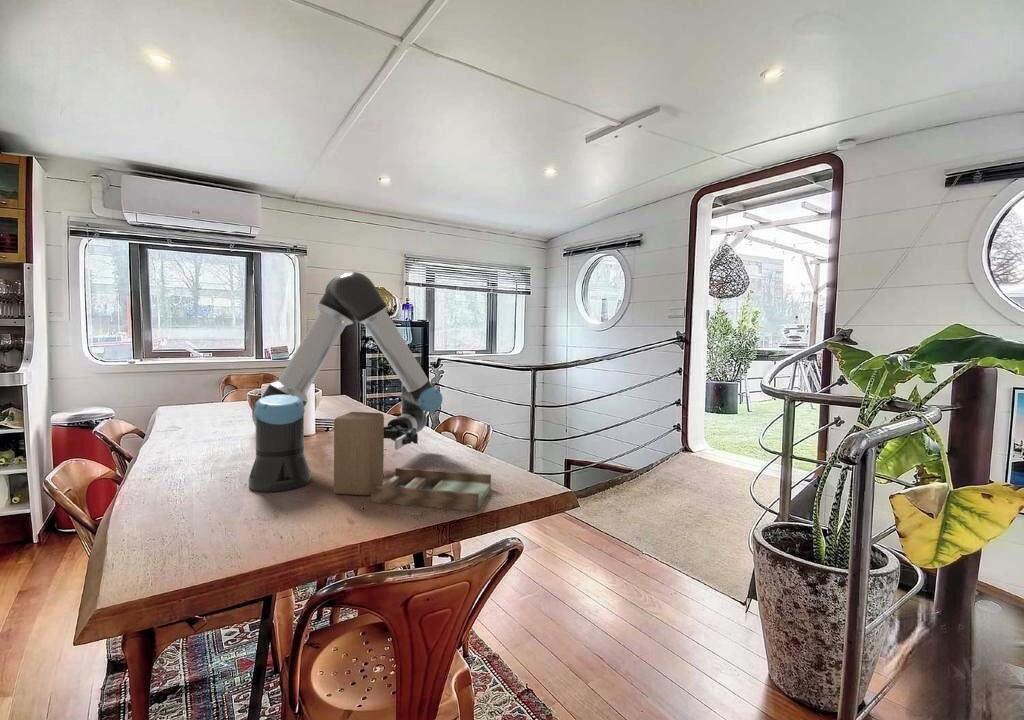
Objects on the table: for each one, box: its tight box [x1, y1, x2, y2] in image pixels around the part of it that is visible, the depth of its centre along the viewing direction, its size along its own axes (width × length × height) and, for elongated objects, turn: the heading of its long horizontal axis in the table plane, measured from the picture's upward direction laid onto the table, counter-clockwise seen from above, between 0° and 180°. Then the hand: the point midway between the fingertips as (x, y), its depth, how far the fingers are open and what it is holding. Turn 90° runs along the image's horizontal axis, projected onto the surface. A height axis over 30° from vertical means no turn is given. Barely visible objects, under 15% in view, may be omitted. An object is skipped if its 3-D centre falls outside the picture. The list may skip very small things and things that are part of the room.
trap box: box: [370, 467, 492, 512], centre depth 119 cm, size 27×16×4 cm, turn 81°
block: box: [333, 411, 385, 496], centre depth 121 cm, size 10×10×20 cm
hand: (372, 443), depth 127 cm, fingers open, 13 cm apart
